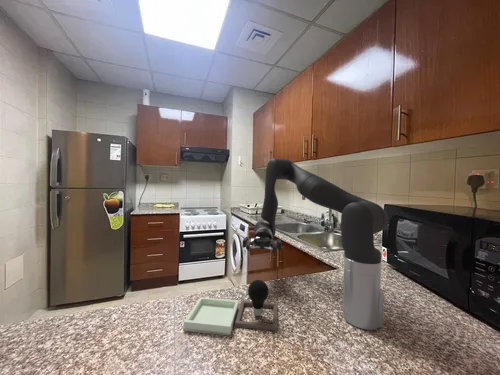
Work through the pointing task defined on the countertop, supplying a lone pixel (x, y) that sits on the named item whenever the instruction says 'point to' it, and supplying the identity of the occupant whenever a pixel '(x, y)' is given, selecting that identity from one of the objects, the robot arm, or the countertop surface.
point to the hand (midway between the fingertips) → (261, 249)
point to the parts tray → (212, 316)
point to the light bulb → (258, 295)
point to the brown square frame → (255, 324)
